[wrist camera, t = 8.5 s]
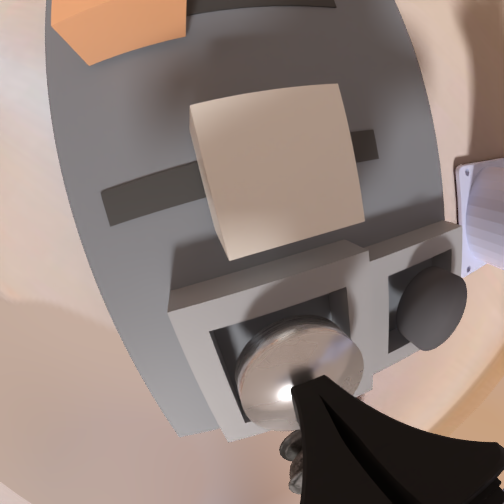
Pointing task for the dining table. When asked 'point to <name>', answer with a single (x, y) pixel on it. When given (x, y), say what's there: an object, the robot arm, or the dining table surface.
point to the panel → (196, 205)
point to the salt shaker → (294, 459)
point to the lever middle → (276, 166)
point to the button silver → (293, 367)
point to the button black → (431, 307)
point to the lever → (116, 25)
